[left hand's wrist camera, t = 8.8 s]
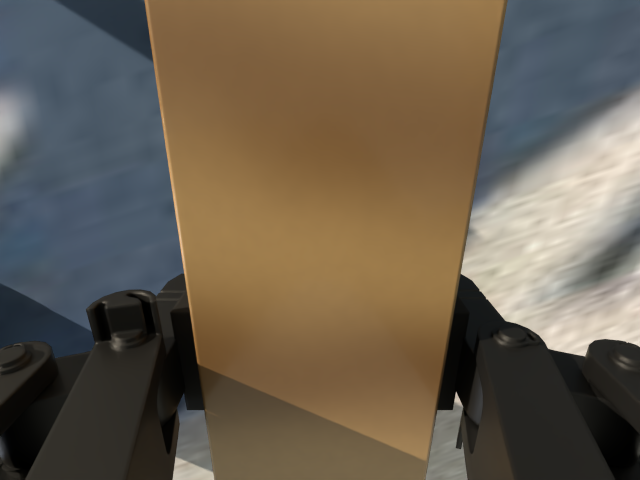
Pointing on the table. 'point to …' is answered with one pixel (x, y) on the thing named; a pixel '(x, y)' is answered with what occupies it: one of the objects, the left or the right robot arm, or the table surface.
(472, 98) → the beam
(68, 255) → the table surface
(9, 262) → the table surface
